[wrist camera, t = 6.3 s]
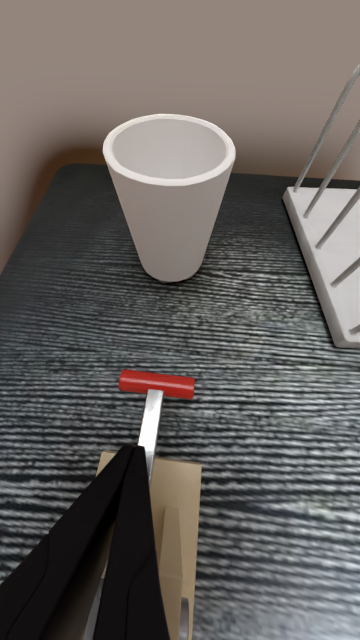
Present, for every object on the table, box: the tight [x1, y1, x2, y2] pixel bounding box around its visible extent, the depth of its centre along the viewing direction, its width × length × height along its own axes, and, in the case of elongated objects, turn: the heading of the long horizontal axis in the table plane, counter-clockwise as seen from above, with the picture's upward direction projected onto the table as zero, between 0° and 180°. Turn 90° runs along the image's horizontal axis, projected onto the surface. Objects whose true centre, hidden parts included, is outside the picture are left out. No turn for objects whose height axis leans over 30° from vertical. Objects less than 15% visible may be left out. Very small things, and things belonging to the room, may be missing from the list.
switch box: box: [81, 450, 202, 640], centre depth 11 cm, size 10×8×9 cm
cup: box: [103, 114, 235, 283], centre depth 21 cm, size 10×10×13 cm
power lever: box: [83, 369, 195, 640], centre depth 12 cm, size 12×5×2 cm, turn 174°
